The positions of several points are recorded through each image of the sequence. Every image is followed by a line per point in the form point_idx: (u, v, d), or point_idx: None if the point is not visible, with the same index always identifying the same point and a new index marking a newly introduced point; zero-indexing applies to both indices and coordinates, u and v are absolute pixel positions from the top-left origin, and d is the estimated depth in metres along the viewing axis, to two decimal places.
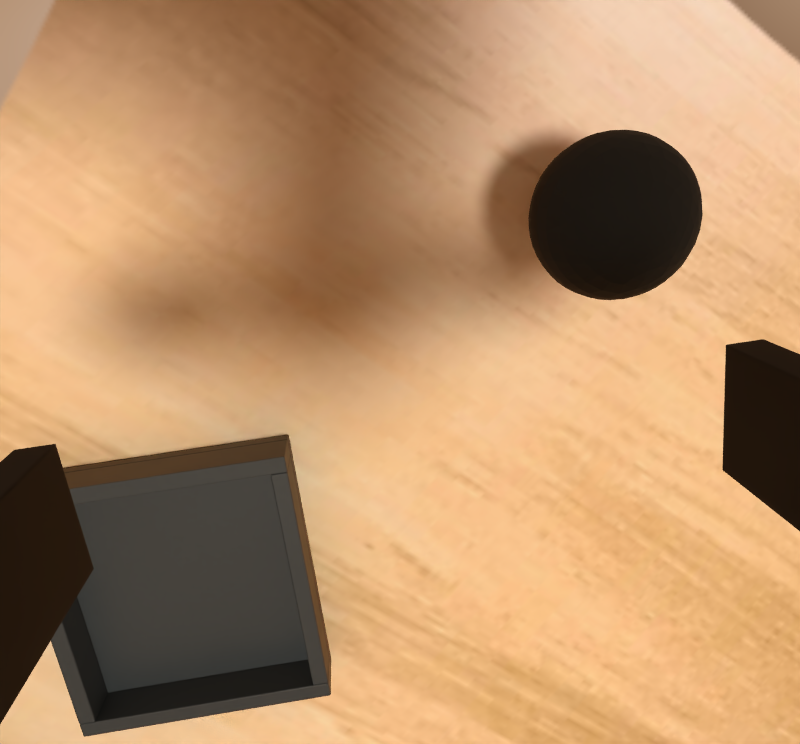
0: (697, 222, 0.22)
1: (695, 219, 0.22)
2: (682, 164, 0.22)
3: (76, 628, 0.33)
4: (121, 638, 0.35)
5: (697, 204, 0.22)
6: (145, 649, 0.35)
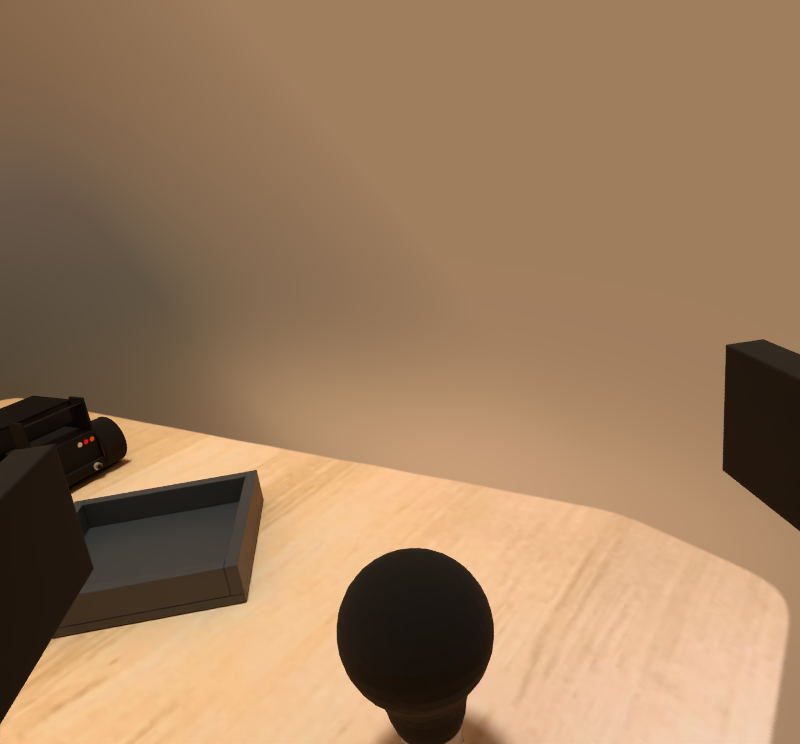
0: (407, 620, 0.22)
1: (409, 613, 0.23)
2: (460, 610, 0.23)
3: (152, 504, 0.50)
4: (127, 531, 0.49)
5: (423, 616, 0.22)
6: (111, 540, 0.48)
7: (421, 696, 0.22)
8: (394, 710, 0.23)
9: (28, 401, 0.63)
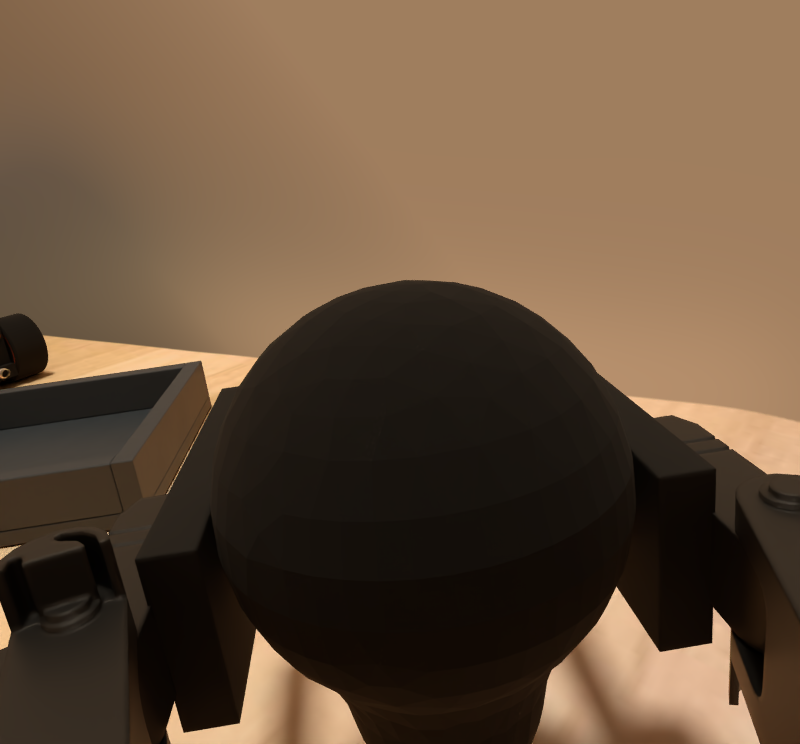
0: (394, 401, 0.07)
1: (403, 383, 0.07)
2: (559, 391, 0.08)
3: (50, 405, 0.35)
4: (9, 438, 0.34)
5: (448, 393, 0.07)
6: None
7: (436, 647, 0.07)
8: (354, 691, 0.08)
9: None
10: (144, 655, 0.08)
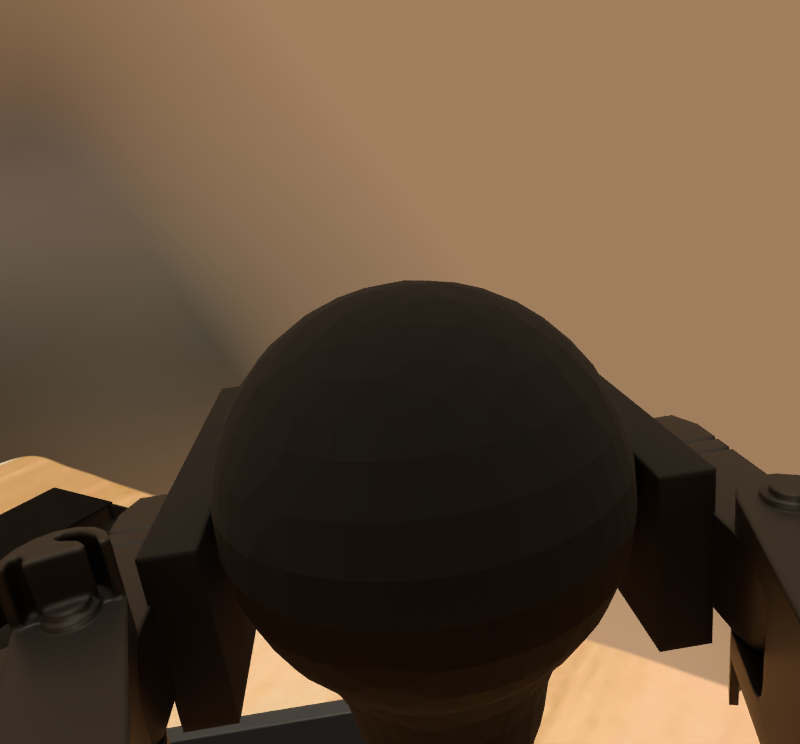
0: (395, 402, 0.07)
1: (404, 383, 0.07)
2: (560, 391, 0.08)
3: None
4: None
5: (449, 393, 0.07)
6: None
7: (437, 647, 0.07)
8: (355, 692, 0.08)
9: (47, 500, 0.41)
10: (144, 655, 0.08)
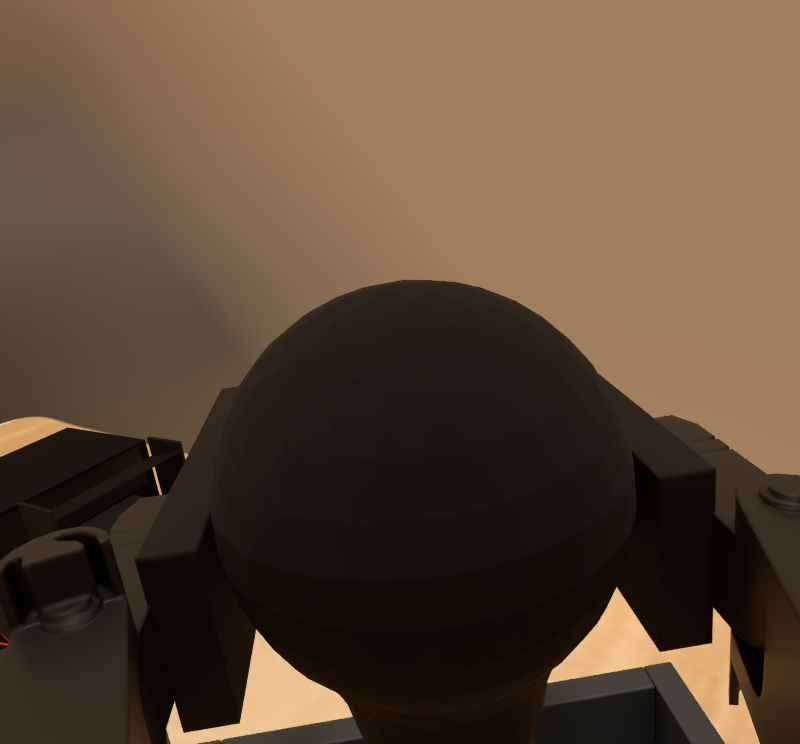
0: (394, 401, 0.07)
1: (403, 382, 0.07)
2: (559, 390, 0.08)
3: None
4: None
5: (448, 392, 0.07)
6: None
7: (436, 647, 0.07)
8: (354, 691, 0.08)
9: (60, 440, 0.32)
10: (144, 655, 0.08)
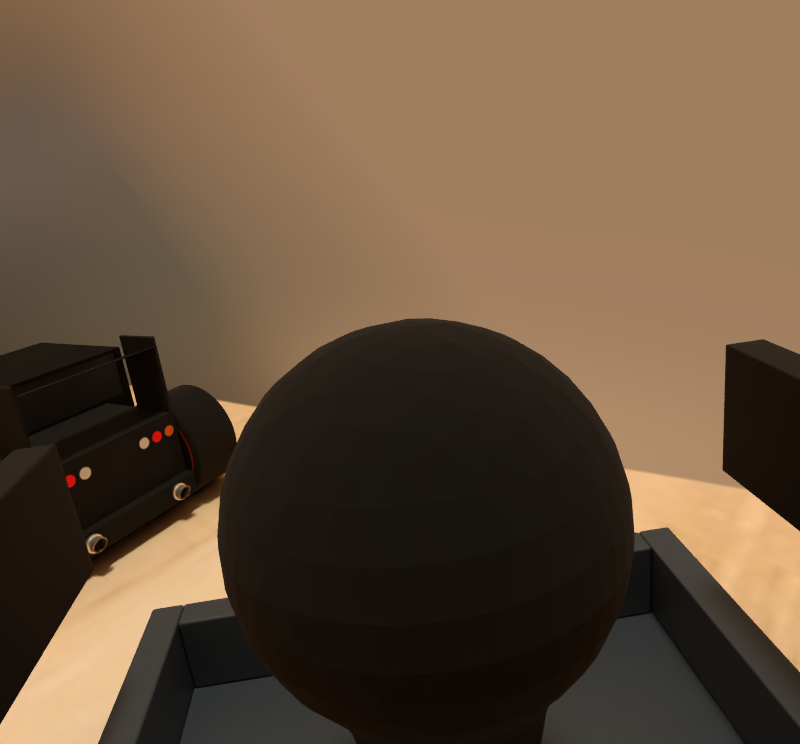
0: (399, 448, 0.07)
1: (408, 430, 0.07)
2: (560, 436, 0.08)
3: None
4: (317, 714, 0.16)
5: (452, 440, 0.07)
6: None
7: (439, 688, 0.07)
8: (359, 727, 0.08)
9: (31, 351, 0.31)
10: None
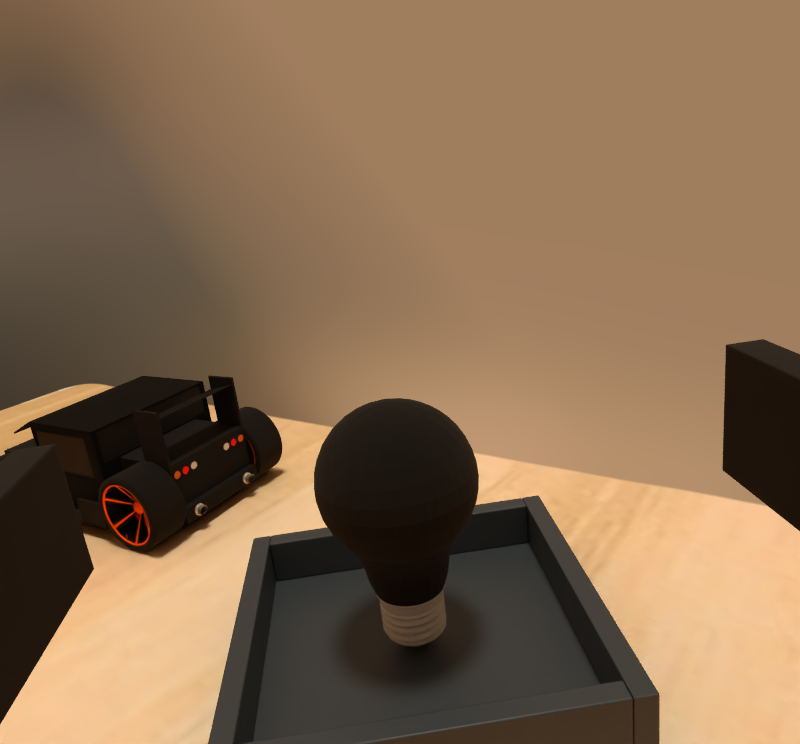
0: (385, 451, 0.21)
1: (388, 445, 0.21)
2: (442, 447, 0.22)
3: None
4: (344, 590, 0.30)
5: (403, 449, 0.21)
6: (325, 608, 0.29)
7: (398, 532, 0.21)
8: (370, 552, 0.22)
9: (140, 383, 0.45)
10: None
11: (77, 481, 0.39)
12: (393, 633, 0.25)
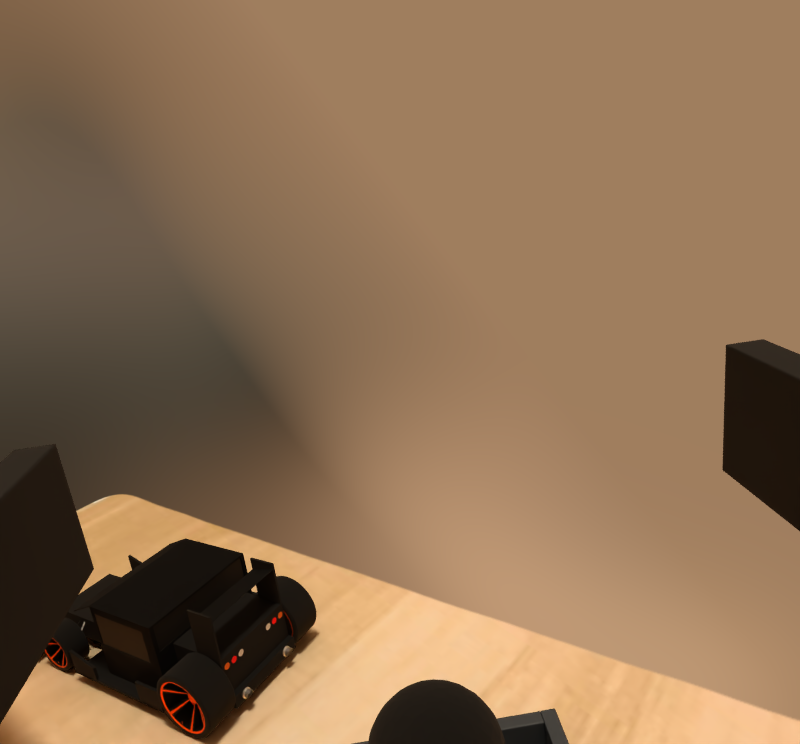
0: None
1: None
2: None
3: None
4: None
5: None
6: None
7: None
8: None
9: (184, 550, 0.49)
10: None
11: (134, 662, 0.43)
12: None
